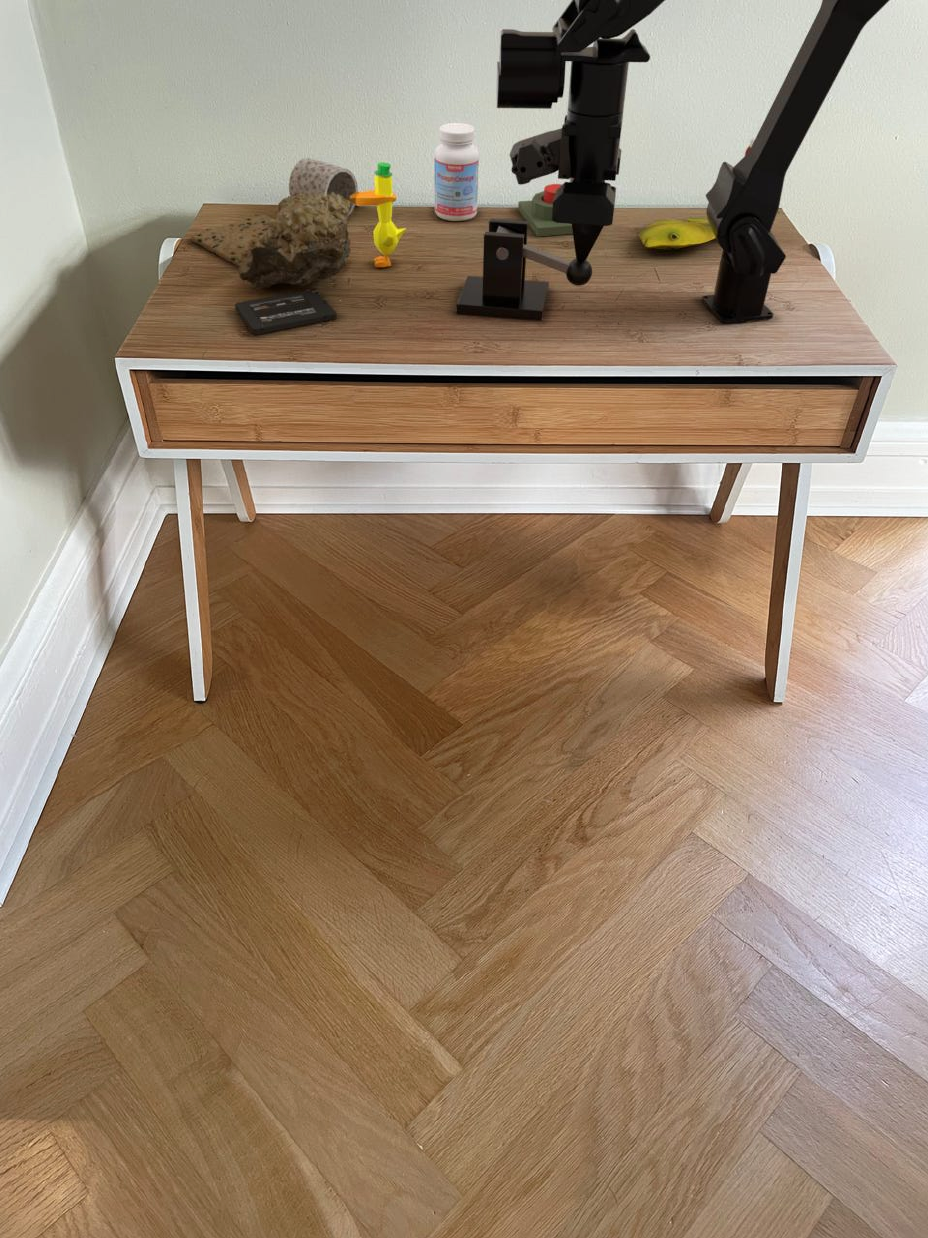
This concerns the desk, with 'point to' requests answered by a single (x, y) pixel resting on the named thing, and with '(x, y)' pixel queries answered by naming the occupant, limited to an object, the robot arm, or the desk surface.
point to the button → (550, 192)
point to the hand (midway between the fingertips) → (581, 259)
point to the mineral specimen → (299, 242)
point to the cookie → (233, 236)
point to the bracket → (504, 278)
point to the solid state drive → (284, 311)
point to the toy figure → (381, 213)
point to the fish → (676, 233)
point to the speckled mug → (322, 180)
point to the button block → (542, 217)
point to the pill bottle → (456, 173)
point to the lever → (558, 263)
